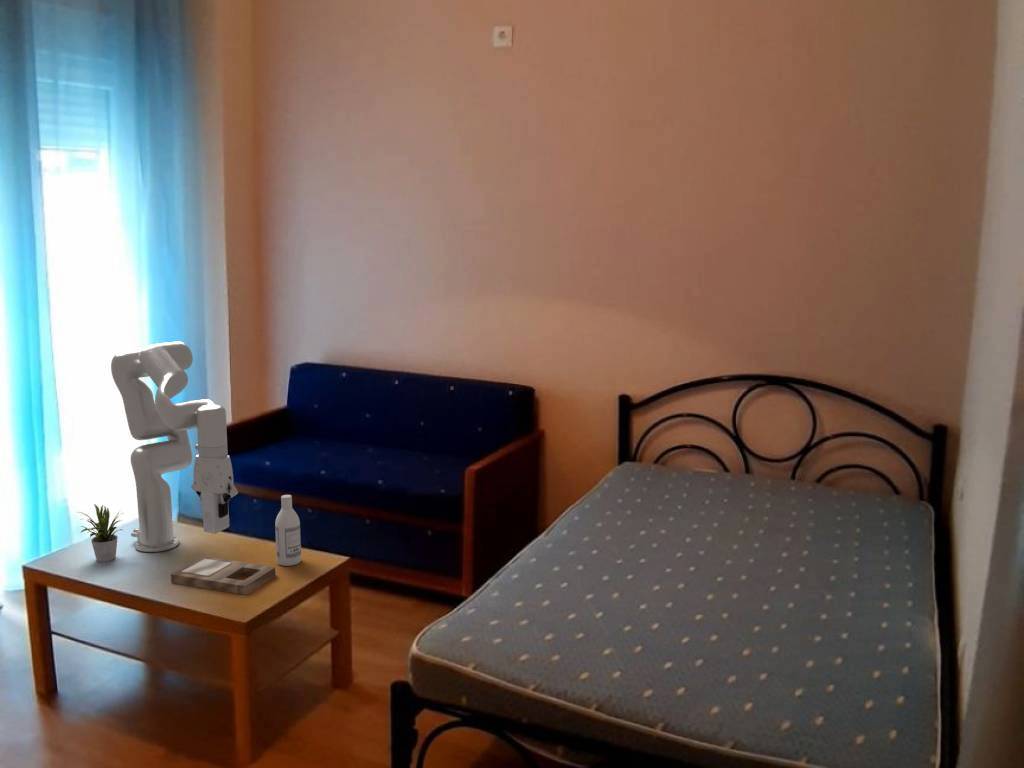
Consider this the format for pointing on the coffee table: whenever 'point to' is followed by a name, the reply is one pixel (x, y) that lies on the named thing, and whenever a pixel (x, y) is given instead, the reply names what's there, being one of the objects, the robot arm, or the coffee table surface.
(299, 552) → the bath foam
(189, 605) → the coffee table surface
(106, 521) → the house plant
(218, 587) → the walnut frame
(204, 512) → the skincare box
